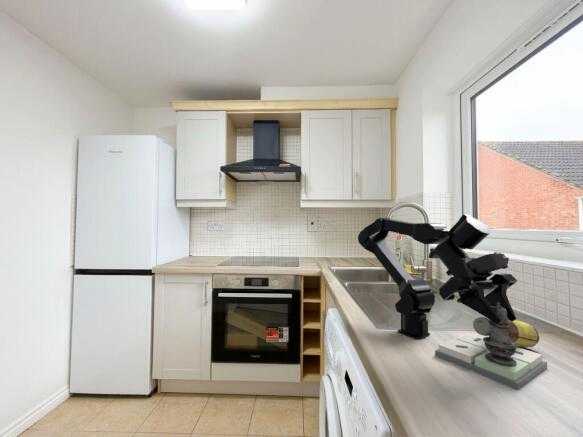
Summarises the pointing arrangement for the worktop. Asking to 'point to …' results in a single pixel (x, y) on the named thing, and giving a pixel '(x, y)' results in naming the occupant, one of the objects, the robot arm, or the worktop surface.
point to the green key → (503, 367)
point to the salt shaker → (500, 340)
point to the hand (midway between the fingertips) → (507, 321)
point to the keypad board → (493, 375)
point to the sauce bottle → (510, 331)
